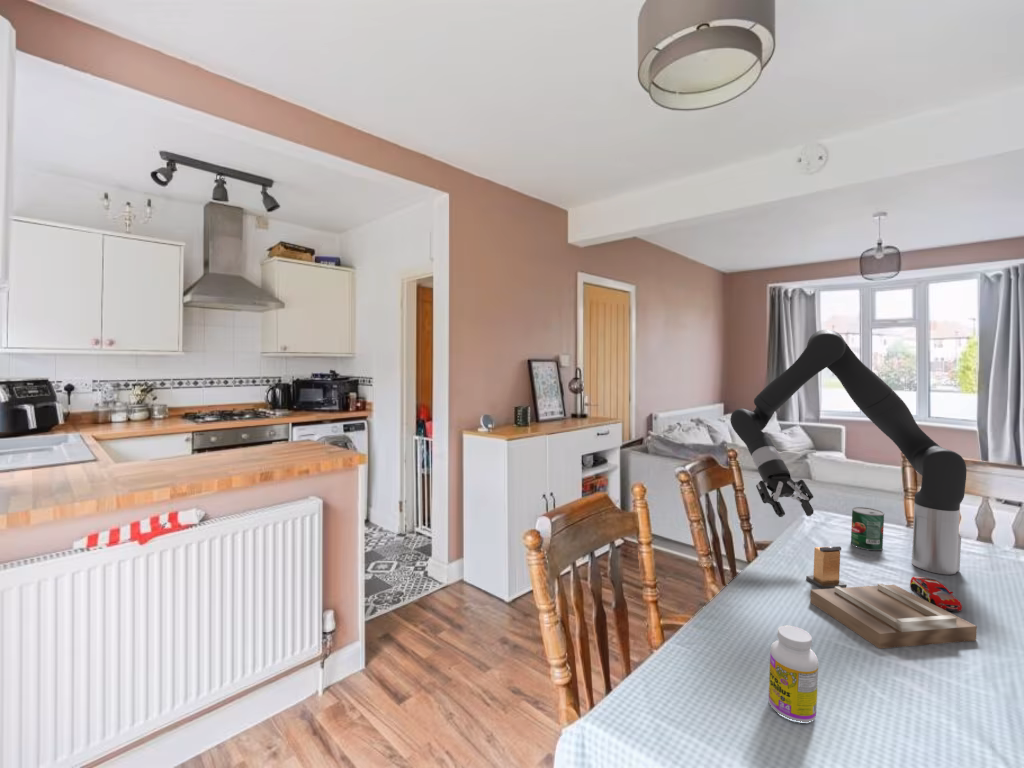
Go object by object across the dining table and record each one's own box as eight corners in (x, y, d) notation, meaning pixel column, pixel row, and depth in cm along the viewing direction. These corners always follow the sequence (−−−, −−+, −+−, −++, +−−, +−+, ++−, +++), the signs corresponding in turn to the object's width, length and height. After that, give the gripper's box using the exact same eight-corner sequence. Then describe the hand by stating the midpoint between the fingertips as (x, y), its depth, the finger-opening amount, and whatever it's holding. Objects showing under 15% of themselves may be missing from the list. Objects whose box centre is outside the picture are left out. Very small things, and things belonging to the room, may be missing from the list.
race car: (966, 616, 105) (967, 598, 105) (937, 612, 107) (938, 595, 107) (932, 588, 118) (933, 573, 118) (906, 585, 120) (907, 570, 119)
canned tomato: (844, 542, 148) (845, 507, 147) (864, 540, 150) (865, 506, 149) (868, 552, 140) (870, 515, 140) (889, 550, 142) (891, 514, 141)
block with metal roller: (828, 578, 123) (830, 540, 123) (846, 588, 118) (848, 549, 117) (806, 579, 122) (807, 541, 122) (823, 590, 117) (824, 550, 116)
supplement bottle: (759, 696, 79) (761, 622, 79) (796, 694, 80) (799, 620, 79) (786, 727, 73) (788, 646, 72) (826, 725, 73) (829, 644, 73)
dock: (893, 596, 113) (894, 576, 113) (976, 640, 96) (977, 616, 95) (810, 602, 111) (811, 581, 110) (879, 648, 93) (880, 623, 93)
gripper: (753, 458, 137) (779, 509, 126) (798, 457, 139) (828, 507, 128) (742, 472, 143) (766, 522, 132) (785, 471, 145) (812, 520, 134)
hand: (796, 515), depth 130 cm, fingers open, 8 cm apart
